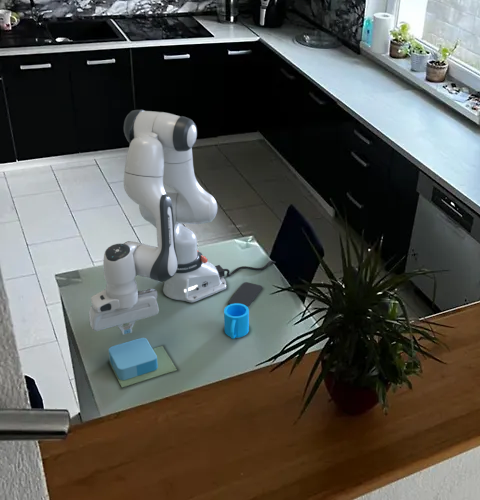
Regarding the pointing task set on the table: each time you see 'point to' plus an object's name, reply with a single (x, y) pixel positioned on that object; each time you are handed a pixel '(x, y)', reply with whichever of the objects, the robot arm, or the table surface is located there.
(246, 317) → the mug
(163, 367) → the mat
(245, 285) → the phone
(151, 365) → the data package
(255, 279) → the table surface
